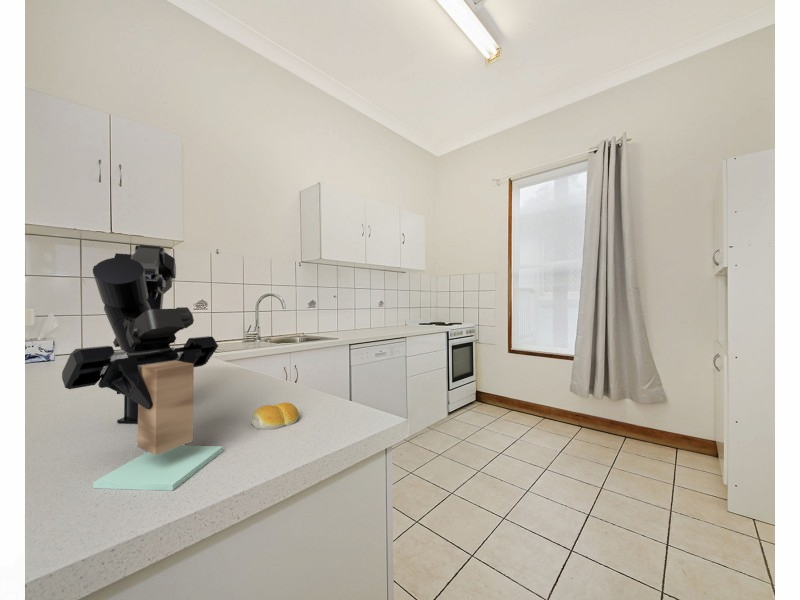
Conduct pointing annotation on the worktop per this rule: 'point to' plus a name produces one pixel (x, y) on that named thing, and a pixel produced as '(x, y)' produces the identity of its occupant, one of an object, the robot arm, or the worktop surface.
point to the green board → (159, 469)
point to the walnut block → (166, 406)
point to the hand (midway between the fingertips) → (171, 401)
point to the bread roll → (275, 416)
